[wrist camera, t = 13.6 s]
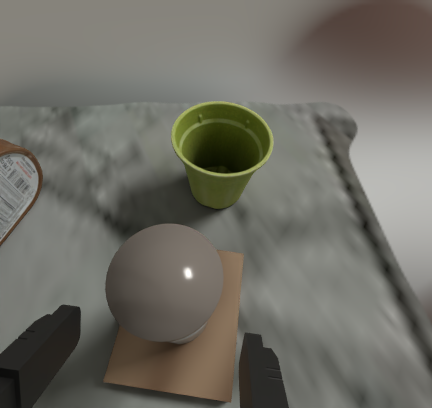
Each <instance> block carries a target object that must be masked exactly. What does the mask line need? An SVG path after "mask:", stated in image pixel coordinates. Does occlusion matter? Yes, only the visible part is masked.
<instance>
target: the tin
mask: <svg viewBox="0 0 432 408" xmlns="http://www.w3.org/2000/svg"><path fill="white" fill-rule="evenodd" d="M42 180H43V175H42V169H41V167H40V165H39V162H38V161H37V159H36V157H35V156H34V155H33V154H32V153H31V152H30V151H29V150H27V149H25V148H22V147H20V146H17V145H14V144H12V143H10V142H8V141H6V140H3V139H0V246H1V244H2V243H3V242H4V241H5V240H6V238H7V237H8V236H9V235H10V233H11V232H12V231H13V230H14V228H15V227H16V226H17V225H18V223H19V222H20V221H21V220H22V218H23V217H24V216H25V215H26V213H27V212H28V211H29V210H30V208H31V207H32V206H33V204H34V203H35V201H36V200H37V198H38V195H39V193H40V190H41V187H42Z"/></svg>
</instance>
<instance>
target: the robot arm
mask: <svg viewBox="0 0 432 408" xmlns="http://www.w3.org/2000/svg"><path fill="white" fill-rule="evenodd" d="M80 320H81V311H80V307H77V306H70V305H61V306H60V307H59V308H58V309H57V310H56V311H55V312H54V313H53V314H52V315H50V314H47V315H45V316H43V317H42V318H40V319H38V320H36V321H35V322H34V323H33V324H32V325H31V326H30V327H28V328H27V329H26V331H25V332H23V333H22V334H21V335H20V336H19V337H18V339H16V340H15V341H14V342H13V343H12V344H10V345H9V346H8V347H7V348H6V349H5V350H4V351H3V352H2V353H1V354H0V408H32V406H33V405H34V403H35V402H36V401H37V399H38V398H39V397H40V395H41V394H42V393H43V391H44V390H45V388H46V387H47V386H48V384H49V383H50V382H51V380H52V379H53V378H54V376H55V375H56V373H57V372H58V371H59V369H60V368H61V367H62V365H63V364H64V363H65V361H66V360H67V358H68V357H69V356H70V354H71V353H72V352H73V350H74V349H75V347H76V346H77V344H78V341H79V338H80ZM239 391H240V408H289V407H288V402H287V397H286V393H285V388H284V384H283V381H282V375H281V371H280V366H279V361H278V358H277V356H276V355H275V353H274V352H273V350H272V349H271V348H264V347H263V343H262V337H261V335H259V334H252V333H245V335H244V340H243V345H242V350H241V355H240V361H239Z"/></svg>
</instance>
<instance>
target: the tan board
mask: <svg viewBox="0 0 432 408" xmlns="http://www.w3.org/2000/svg"><path fill="white" fill-rule="evenodd" d="M217 253H218V255H219V257H220V260H221V263H222V267H223V277H224V278H223V288H222V293H221V296H220V299H219V302H218V304H217V306H216V309H215V311H214V312H213V314H212V315H211V317H210V318H209V320H208V323H207V326H206V328H205V329H204V331H203V332H202V333H201V334H200V335H199V336H198V337H197V338H196V339H194V340H193V341H191V342H188V343H185V344H172V343H169V342H153V341H149V340H145V339H142V338H139V337H137V336H134V335H133V334H131V333H129V332H128V331H126V330H125V329H124V328H123V327H122V326H121V325H120V326H119V330H118V333H117V336H116V340H115V343H114V346H113V350H112V353H111V357H110V360H109V363H108V367H107V370H106V373H105V377H104V380H103V382H107V383H114V384H120V385H126V386H132V387H138V388H145V389H151V390H157V391H163V392H169V393H176V394H182V395H188V396H194V397H200V398H207V399H213V400H219V401H225V402H231V397H232V386H233V374H234V362H235V350H236V339H237V327H238V315H239V303H240V291H241V280H242V268H243V256H244V254H242V253H235V252H228V251H222V250H217Z"/></svg>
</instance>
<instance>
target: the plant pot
mask: <svg viewBox="0 0 432 408" xmlns="http://www.w3.org/2000/svg"><path fill="white" fill-rule="evenodd" d="M171 141H172V145H173V148H174V151H175V153H176V154H177V156H178V157H179V158H180V160H181V161H182V162H183V163H184V165H185V169H186V172H187V176H188V180H189V184H190V187H191V191H192V194H193V196H194V198H195V199H196V200H197V201H198V202H199V203H200V204H202V205H205V206H208V207H212V208H215V209H222V208H226V207H229V206H231V205H233V204H234V203H235V202H236V201H237V200H238V199H239V197H240V196H241V194H242V192H243V190H244V188H245V187H246V185H247V183H248V181H249V180H250V178H251V176H252V175H253V173H254V172H255V171H256V170H257V169H259V168H260V167H261V166H263V165H264V164H265V163H266V161H267V160H268V158H269V157H270V155H271V152H272V149H273V135H272V132H271V130H270V128H269V126H268V125H267V124H266V122H265V121H264V120H263V119H262V118H261V117H260V116H259V115H258V114H256V113H255V112H253V111H252V110H250V109H248V108H246V107H243V106H241V105H237V104H234V103H229V102H205V103H201V104H198V105H195V106H193V107H191V108H189V109H188V110H186V111H185V112H183V113H182V114H181V115H180V116H179V117H178V118H177V120H176V121H175V123H174V125H173V128H172V131H171ZM210 171H212V172H210Z"/></svg>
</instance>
